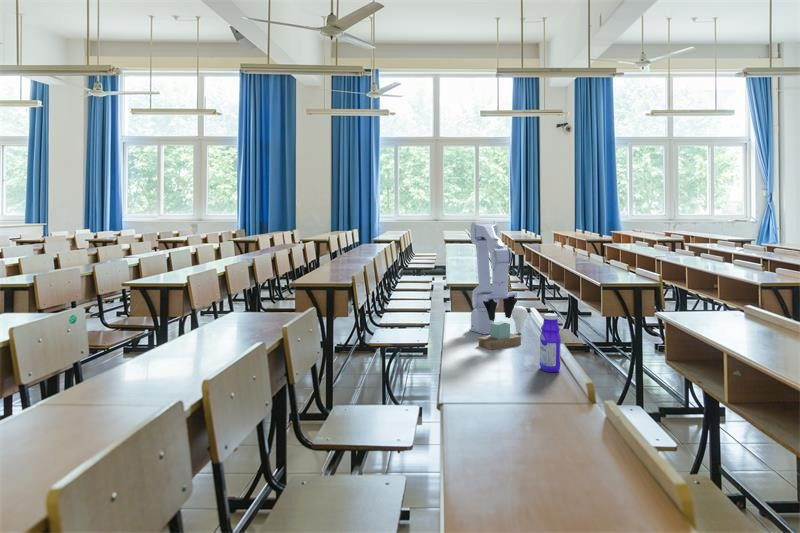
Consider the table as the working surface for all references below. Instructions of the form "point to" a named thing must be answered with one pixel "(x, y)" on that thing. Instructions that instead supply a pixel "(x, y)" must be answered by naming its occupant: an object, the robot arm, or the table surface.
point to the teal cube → (500, 330)
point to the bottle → (550, 344)
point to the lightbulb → (519, 318)
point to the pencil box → (499, 342)
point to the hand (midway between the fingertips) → (500, 318)
